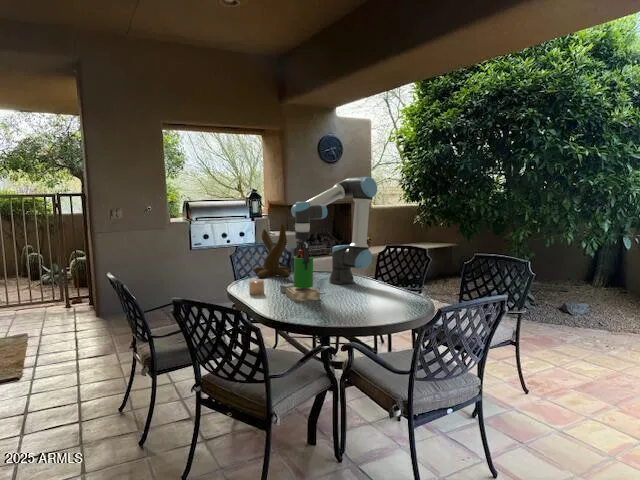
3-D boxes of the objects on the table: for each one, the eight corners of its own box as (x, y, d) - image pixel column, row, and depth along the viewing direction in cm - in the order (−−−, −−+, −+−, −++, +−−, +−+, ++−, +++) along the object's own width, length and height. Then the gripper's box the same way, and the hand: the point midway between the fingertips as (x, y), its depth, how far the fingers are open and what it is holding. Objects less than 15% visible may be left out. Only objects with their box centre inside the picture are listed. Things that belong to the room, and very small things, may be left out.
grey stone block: (290, 289, 250) (290, 283, 249) (296, 291, 247) (296, 284, 246) (280, 292, 244) (280, 285, 243) (286, 293, 241) (286, 286, 240)
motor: (314, 284, 234) (314, 248, 231) (310, 289, 225) (310, 251, 222) (295, 283, 236) (296, 247, 233) (291, 287, 227) (291, 250, 224)
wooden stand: (301, 274, 295) (301, 223, 291) (268, 280, 274) (267, 225, 270) (274, 269, 315) (274, 220, 311) (241, 274, 295) (240, 223, 291)
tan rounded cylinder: (262, 291, 245) (262, 279, 244) (265, 294, 237) (265, 282, 237) (248, 292, 242) (247, 280, 241) (251, 296, 234) (250, 283, 234)
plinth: (310, 293, 240) (310, 285, 240) (319, 299, 227) (319, 290, 227) (286, 295, 235) (286, 287, 235) (294, 301, 222) (294, 292, 222)
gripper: (290, 229, 235) (290, 271, 238) (301, 233, 217) (302, 278, 219) (303, 229, 238) (303, 270, 241) (315, 232, 219) (315, 277, 222)
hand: (302, 274), depth 230 cm, fingers closed on motor, 7 cm apart
